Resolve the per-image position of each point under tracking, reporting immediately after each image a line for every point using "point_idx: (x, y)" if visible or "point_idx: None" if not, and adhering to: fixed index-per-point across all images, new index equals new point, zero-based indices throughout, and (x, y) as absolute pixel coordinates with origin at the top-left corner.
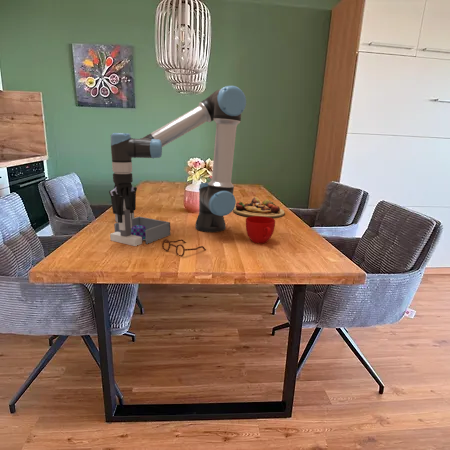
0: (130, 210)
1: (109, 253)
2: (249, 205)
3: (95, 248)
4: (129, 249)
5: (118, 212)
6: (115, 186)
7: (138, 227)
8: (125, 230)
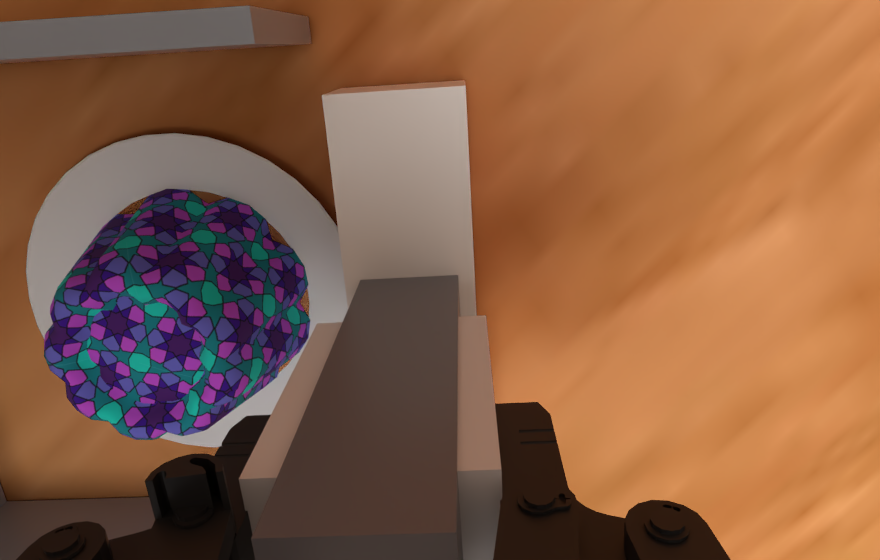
0: (221, 536)
1: (818, 140)
2: None
3: (757, 381)
4: (590, 52)
5: (676, 539)
6: None
7: (143, 361)
8: (458, 311)
